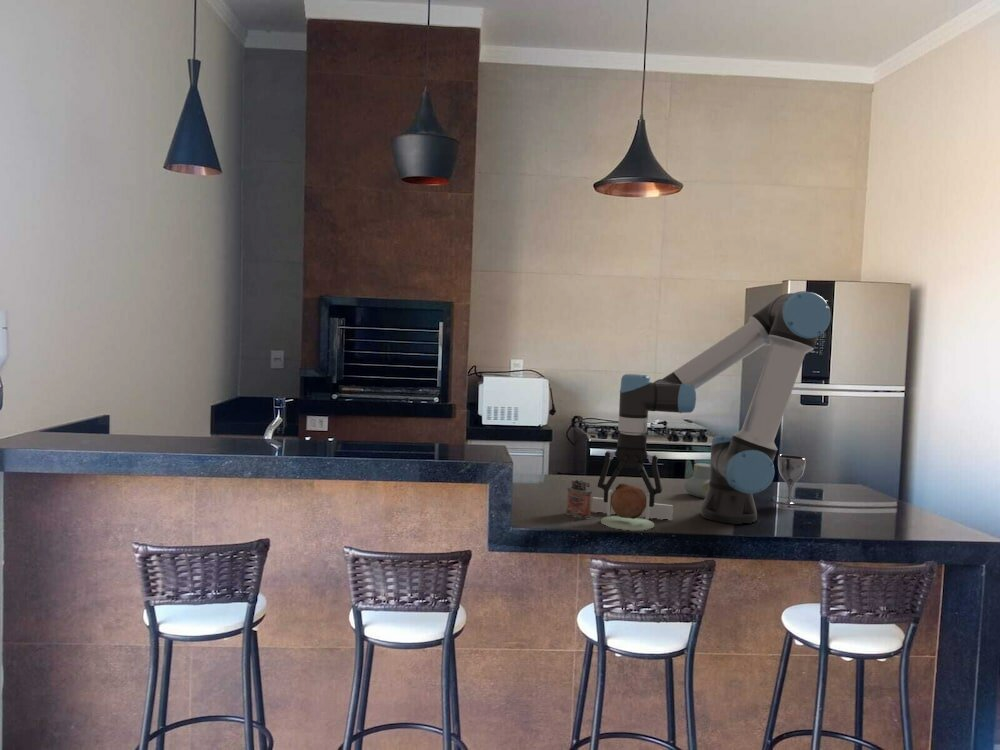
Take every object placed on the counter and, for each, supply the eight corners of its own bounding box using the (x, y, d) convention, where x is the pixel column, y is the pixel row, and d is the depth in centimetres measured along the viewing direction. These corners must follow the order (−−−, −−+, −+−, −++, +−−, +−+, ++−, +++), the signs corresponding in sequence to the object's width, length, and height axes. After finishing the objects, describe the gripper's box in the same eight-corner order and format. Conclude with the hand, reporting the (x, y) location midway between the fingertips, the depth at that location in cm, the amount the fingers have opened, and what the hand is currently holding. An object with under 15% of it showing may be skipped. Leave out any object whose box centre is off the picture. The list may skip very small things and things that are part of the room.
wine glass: (803, 509, 237) (806, 459, 236) (775, 506, 239) (778, 457, 238) (802, 503, 244) (805, 455, 243) (775, 500, 247) (778, 453, 246)
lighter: (563, 513, 218) (565, 477, 217) (572, 512, 220) (573, 476, 220) (584, 519, 212) (586, 483, 211) (593, 518, 214) (594, 482, 214)
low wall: (672, 519, 217) (672, 505, 216) (671, 520, 215) (672, 506, 215) (592, 511, 223) (593, 497, 222) (591, 512, 221) (592, 497, 221)
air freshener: (708, 492, 256) (709, 462, 255) (724, 498, 248) (726, 466, 247) (679, 493, 252) (681, 462, 251) (694, 499, 244) (696, 467, 243)
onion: (613, 527, 210) (597, 493, 210) (635, 514, 215) (620, 480, 216) (637, 522, 202) (621, 486, 203) (660, 508, 208) (644, 473, 208)
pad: (656, 520, 214) (656, 519, 214) (651, 533, 201) (651, 531, 201) (604, 515, 218) (605, 513, 218) (597, 527, 205) (597, 525, 205)
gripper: (675, 434, 208) (671, 517, 210) (593, 428, 214) (589, 509, 216) (674, 437, 201) (669, 524, 203) (588, 431, 207) (584, 515, 209)
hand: (628, 516), depth 209 cm, fingers closed on onion, 9 cm apart
